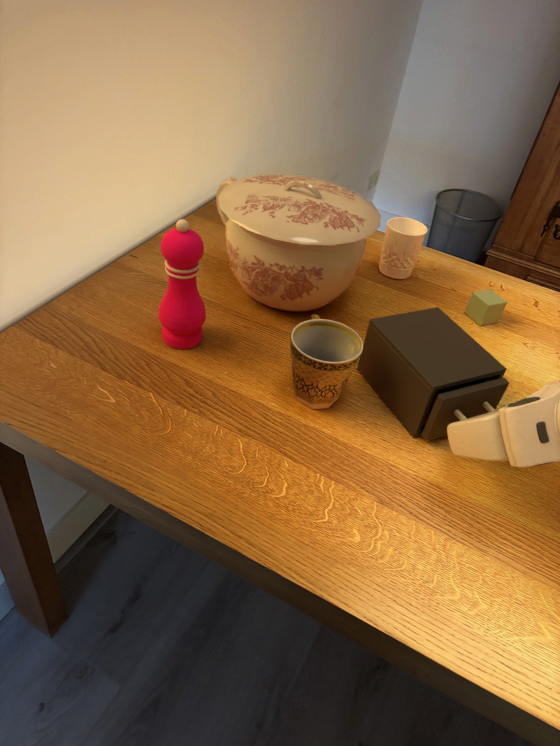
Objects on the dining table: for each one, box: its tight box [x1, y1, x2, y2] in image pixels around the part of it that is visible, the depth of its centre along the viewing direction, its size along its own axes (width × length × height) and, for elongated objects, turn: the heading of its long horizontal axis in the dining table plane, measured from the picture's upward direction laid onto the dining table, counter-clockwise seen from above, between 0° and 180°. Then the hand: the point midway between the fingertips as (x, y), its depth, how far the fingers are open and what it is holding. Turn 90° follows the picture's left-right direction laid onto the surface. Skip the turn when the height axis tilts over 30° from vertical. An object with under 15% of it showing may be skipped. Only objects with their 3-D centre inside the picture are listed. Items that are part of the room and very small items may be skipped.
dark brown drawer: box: [420, 376, 510, 442], centre depth 77 cm, size 19×11×8 cm, turn 25°
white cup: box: [378, 216, 428, 280], centre depth 109 cm, size 8×8×10 cm
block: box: [464, 288, 508, 327], centre depth 101 cm, size 4×4×4 cm
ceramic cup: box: [289, 313, 364, 410], centre depth 78 cm, size 13×10×10 cm
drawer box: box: [356, 306, 508, 439], centre depth 80 cm, size 16×13×10 cm
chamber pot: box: [215, 172, 382, 312], centre depth 95 cm, size 28×28×21 cm
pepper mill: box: [158, 218, 207, 350], centre depth 80 cm, size 7×7×20 cm
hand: (481, 421), depth 72 cm, fingers closed on dark brown drawer, 6 cm apart
